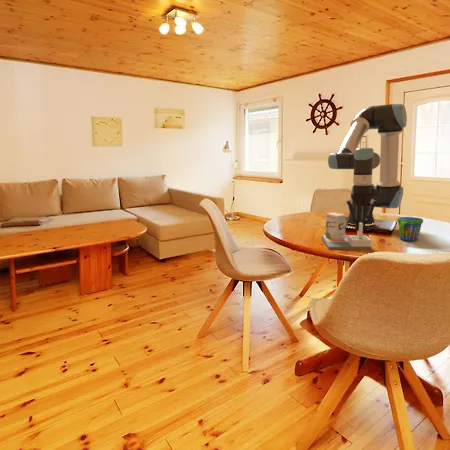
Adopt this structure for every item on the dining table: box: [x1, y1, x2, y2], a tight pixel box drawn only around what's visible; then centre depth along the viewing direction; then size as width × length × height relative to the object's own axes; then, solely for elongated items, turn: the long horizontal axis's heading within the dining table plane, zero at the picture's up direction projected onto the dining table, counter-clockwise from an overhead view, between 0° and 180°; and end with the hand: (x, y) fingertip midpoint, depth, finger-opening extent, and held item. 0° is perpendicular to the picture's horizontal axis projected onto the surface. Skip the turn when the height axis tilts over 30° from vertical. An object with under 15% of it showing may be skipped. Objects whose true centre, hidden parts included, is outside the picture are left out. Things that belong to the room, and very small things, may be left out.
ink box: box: [325, 211, 347, 240], centre depth 170 cm, size 8×5×12 cm, turn 24°
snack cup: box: [396, 216, 424, 242], centre depth 169 cm, size 16×10×10 cm
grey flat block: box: [320, 234, 372, 250], centre depth 166 cm, size 18×21×4 cm
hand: (359, 237), depth 159 cm, fingers closed
